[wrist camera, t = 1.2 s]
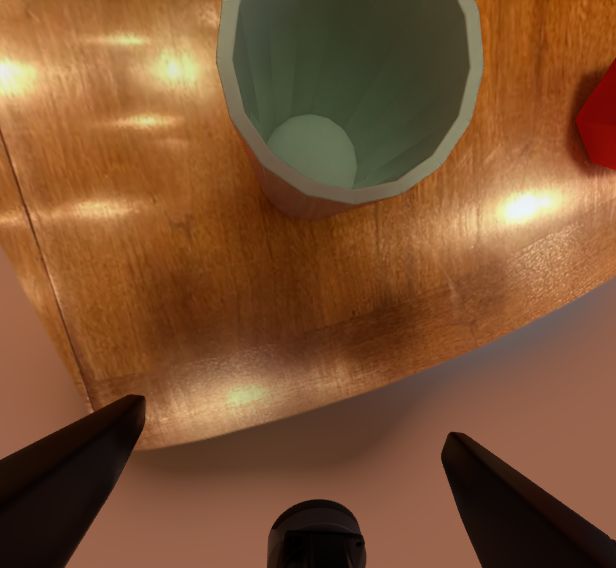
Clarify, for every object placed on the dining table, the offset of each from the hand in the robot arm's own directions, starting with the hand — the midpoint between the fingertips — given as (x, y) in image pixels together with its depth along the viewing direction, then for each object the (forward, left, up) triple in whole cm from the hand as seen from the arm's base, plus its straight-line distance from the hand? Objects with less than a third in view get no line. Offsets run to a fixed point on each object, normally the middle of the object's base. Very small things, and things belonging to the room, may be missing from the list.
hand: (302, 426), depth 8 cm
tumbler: (+10, 0, -12) cm, 16 cm away
